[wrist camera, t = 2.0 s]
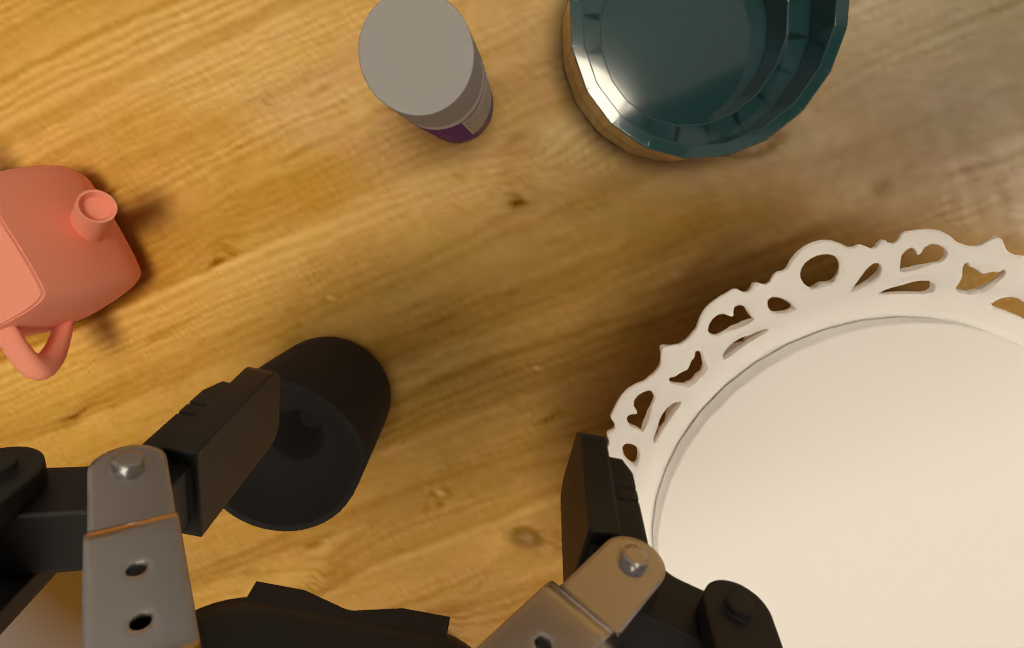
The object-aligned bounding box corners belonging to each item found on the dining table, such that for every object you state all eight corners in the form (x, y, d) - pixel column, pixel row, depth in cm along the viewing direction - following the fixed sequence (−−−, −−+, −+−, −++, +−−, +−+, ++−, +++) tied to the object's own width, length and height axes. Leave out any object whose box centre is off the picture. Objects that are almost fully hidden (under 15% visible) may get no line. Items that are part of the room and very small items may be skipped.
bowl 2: (480, 345, 40) (464, 420, 27) (908, 121, 36) (1114, 90, 23) (666, 665, 47) (720, 839, 34) (1042, 508, 43) (1255, 641, 30)
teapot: (16, 106, 36) (-172, 80, 26) (189, 197, 37) (72, 204, 27) (-39, 295, 39) (-225, 335, 29) (122, 372, 41) (-5, 435, 31)
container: (409, 124, 36) (337, 87, 21) (437, 52, 35) (380, -38, 20) (476, 155, 36) (449, 139, 22) (505, 85, 35) (497, 19, 21)
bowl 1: (706, -152, 32) (747, -225, 26) (837, 56, 35) (902, 32, 29) (514, 25, 34) (513, -6, 29) (651, 206, 37) (677, 211, 31)
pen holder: (244, 395, 41) (159, 463, 31) (320, 303, 39) (256, 344, 29) (345, 472, 42) (294, 559, 33) (423, 387, 41) (394, 452, 31)
